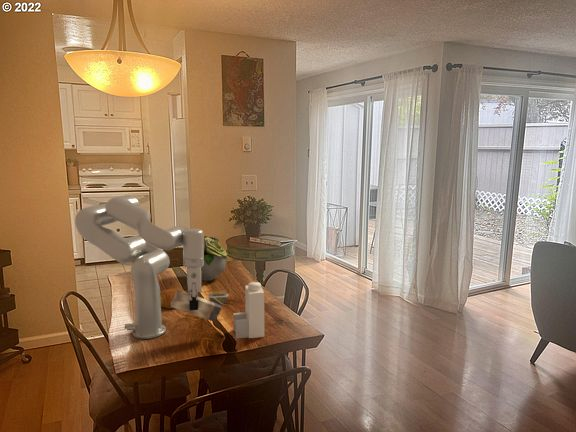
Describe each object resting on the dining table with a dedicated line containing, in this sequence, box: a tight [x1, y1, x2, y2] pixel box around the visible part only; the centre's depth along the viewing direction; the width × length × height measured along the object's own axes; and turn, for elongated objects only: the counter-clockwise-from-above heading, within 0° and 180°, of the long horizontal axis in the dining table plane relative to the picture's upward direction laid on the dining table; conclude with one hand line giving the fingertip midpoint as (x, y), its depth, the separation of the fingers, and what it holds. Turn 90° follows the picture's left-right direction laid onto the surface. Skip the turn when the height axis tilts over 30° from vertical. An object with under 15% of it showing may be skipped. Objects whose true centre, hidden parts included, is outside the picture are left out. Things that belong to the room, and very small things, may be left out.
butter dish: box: [206, 290, 229, 306], centre depth 197 cm, size 12×18×7 cm, turn 99°
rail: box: [171, 289, 222, 323], centre depth 161 cm, size 18×4×6 cm, turn 104°
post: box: [233, 281, 265, 339], centre depth 166 cm, size 11×10×20 cm
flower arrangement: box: [201, 235, 228, 282], centre depth 234 cm, size 25×25×24 cm
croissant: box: [160, 287, 188, 310], centre depth 197 cm, size 14×16×8 cm
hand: (193, 307), depth 161 cm, fingers closed on rail, 3 cm apart
